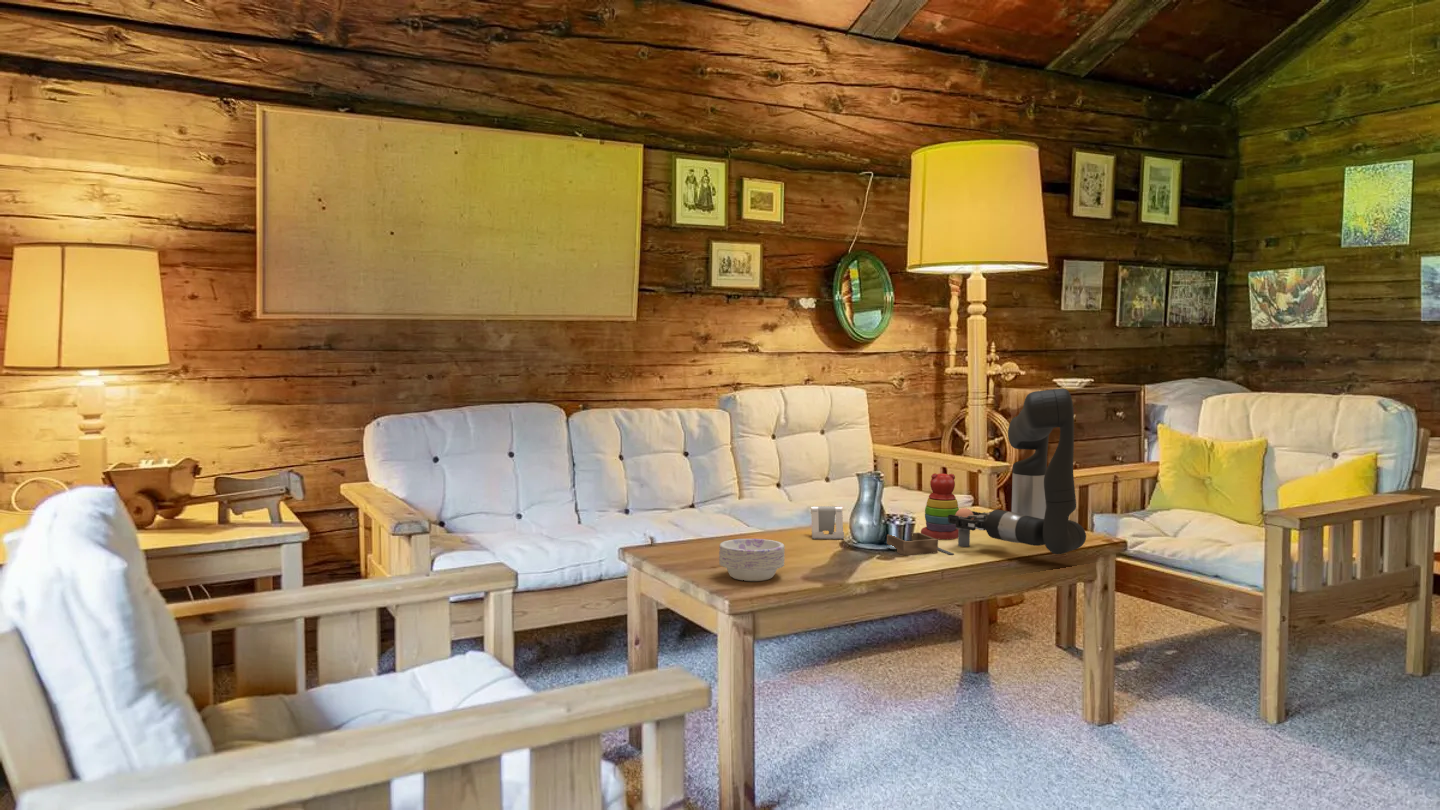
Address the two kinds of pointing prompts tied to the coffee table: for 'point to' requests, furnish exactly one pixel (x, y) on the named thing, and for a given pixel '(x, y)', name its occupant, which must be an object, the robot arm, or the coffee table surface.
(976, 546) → the coffee table surface
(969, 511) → the ball
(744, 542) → the paper bowls
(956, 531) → the stacking bear
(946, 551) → the finish line
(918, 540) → the shallow wooden crate
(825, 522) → the portable electronic device stand
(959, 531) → the tee
